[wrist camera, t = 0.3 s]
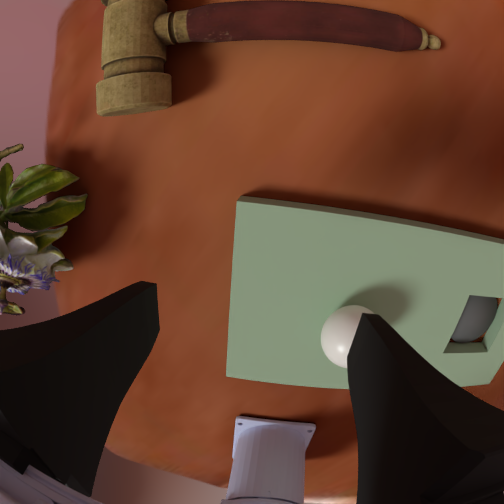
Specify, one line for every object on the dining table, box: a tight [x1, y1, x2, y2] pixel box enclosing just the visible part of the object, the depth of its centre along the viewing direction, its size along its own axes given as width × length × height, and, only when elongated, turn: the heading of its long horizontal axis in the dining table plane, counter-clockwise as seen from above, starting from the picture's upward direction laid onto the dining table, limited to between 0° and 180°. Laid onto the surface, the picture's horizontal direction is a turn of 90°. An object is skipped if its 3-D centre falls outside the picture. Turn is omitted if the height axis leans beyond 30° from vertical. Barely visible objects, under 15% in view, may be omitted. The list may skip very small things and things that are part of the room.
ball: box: [321, 305, 375, 368], centre depth 18 cm, size 4×4×4 cm
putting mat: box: [226, 196, 504, 389], centre depth 20 cm, size 14×26×2 cm, turn 85°
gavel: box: [96, 0, 441, 116], centre depth 13 cm, size 21×5×10 cm
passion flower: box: [0, 144, 88, 315], centre depth 18 cm, size 11×11×12 cm
